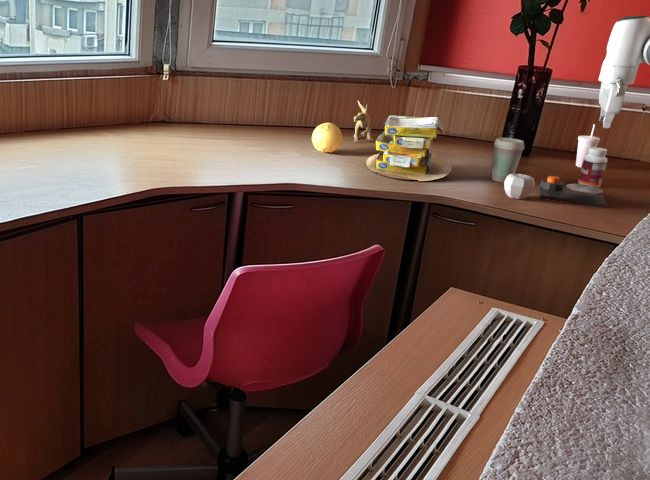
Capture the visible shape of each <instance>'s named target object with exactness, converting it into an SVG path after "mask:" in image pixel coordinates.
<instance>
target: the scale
mask: <svg viewBox="0 0 650 480" xmlns="http://www.w3.org/2000/svg"><path fill="white" fill-rule="evenodd" d="M547 179H548V178H543V179H540V182H539V183H538V195H539V194H540V196H539V199H540V198H541V199H540V200H544V199H549V200H548V201H551V200H556V201H555V202H558V201H563V202H562V203H565V202H569V203H568V204H573V203H574V204H573V205H581V206H588V207H596V208H601V209H606V207H607V202H606V200H605V198H604V194H603V193H602V194H600V195H586V194H580V193H575V192H572V191H569V190H567V189H566V186H565V182H564V181H561V180H559V183H558V184H554V183H549V182H547Z"/></svg>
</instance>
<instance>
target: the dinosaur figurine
mask: <svg viewBox="0 0 650 480" xmlns="http://www.w3.org/2000/svg"><path fill="white" fill-rule="evenodd" d="M357 104H358V106H359V108H360V110H361V112H358V113H357V115H355V116H354V117H353V122H354V123H355V126H354V135H353V136H352V137H351V138H350V139H352V140H353V143H355V142H356V143H359V136H361V137H364V136H365V134H366V138H365V141H366V142H374V140H373V138H372V126H371V125H372V122H371V121H372V120H371V117H370V115H369V113H368V107H369V103H366V105H365V107H364V106H363V105H362V104H361V103H360V101H359V100H357ZM360 128H361V129H365V130H364V131H361V132H360Z"/></svg>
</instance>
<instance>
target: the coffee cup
mask: <svg viewBox="0 0 650 480" xmlns="http://www.w3.org/2000/svg"><path fill="white" fill-rule="evenodd" d="M524 150H525V142H524V140H521V139H518V138H512V137H498V138H496V139H495V141H494V142H493V156H492V167H491V180H493V181H495V182H499V183H504V181H505V179H506V178H507V176H508V175H509V174H516V171H517V168H518V165H519V163H520V160H521V157H522V154H523V151H524Z"/></svg>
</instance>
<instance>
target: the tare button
mask: <svg viewBox="0 0 650 480" xmlns="http://www.w3.org/2000/svg"><path fill="white" fill-rule="evenodd" d="M546 179H547V182H549V183H554V184H558V183H559V181H560V176H556V175H548V176H547V178H546Z"/></svg>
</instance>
